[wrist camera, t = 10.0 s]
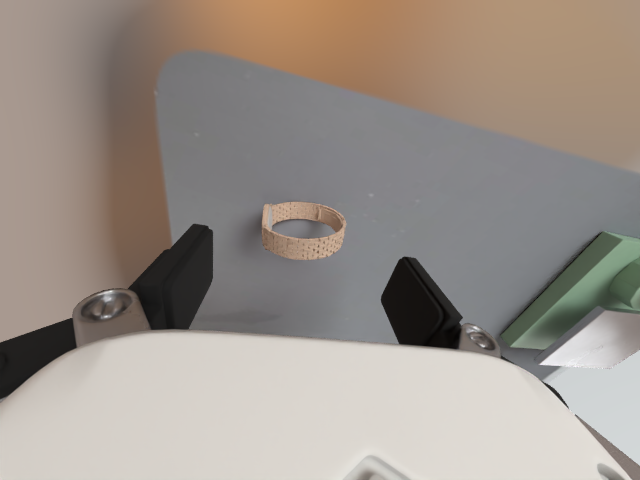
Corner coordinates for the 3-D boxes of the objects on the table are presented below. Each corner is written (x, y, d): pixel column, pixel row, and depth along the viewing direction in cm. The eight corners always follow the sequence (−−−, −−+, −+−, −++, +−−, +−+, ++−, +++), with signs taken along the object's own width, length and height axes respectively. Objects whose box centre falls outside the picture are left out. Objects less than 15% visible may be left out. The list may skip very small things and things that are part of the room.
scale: (607, 226, 19) (656, 245, 16) (701, 247, 21) (757, 267, 18) (499, 335, 26) (522, 361, 23) (578, 342, 28) (606, 366, 25)
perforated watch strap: (268, 190, 15) (256, 225, 10) (340, 194, 15) (357, 230, 11) (269, 226, 16) (259, 271, 12) (335, 229, 17) (348, 273, 12)
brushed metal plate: (597, 305, 19) (605, 310, 19) (676, 315, 21) (685, 320, 21) (533, 359, 23) (538, 364, 23) (603, 363, 25) (610, 369, 25)
